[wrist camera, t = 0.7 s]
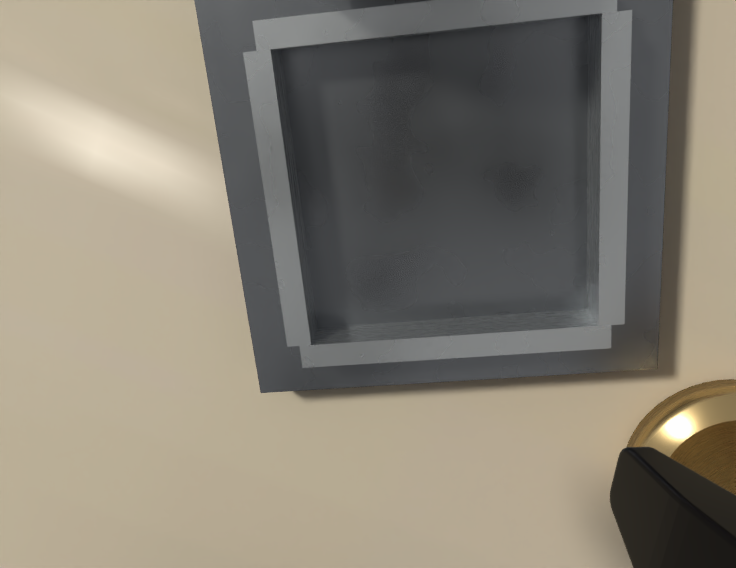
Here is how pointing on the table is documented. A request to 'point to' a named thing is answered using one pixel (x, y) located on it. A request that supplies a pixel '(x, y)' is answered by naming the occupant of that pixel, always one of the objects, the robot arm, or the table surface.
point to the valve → (696, 430)
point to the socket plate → (443, 184)
